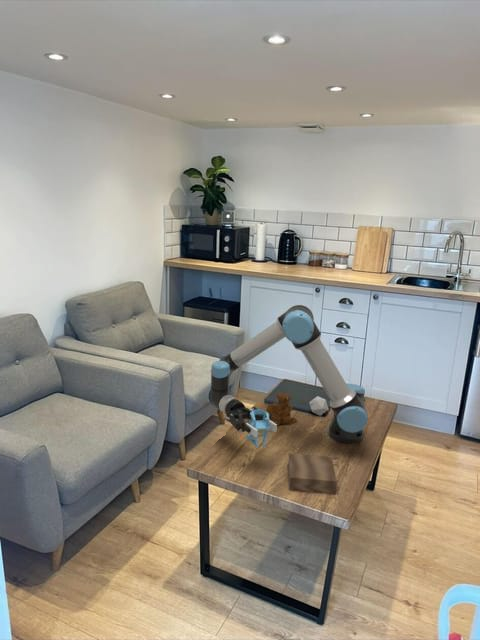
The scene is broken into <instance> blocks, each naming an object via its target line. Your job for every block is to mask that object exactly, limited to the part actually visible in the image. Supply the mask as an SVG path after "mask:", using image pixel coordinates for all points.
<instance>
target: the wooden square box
mask: <svg viewBox="0 0 480 640" xmlns="http://www.w3.org/2000/svg"><path fill="white" fill-rule="evenodd" d="M287 468H288V469H287V471H288V487H289V491H297V492H305V493H307V492H308V493H309V492H310V493H319V494H331V495H333V494H334V495H336V493H337V484H338V480H337V475H336V470H335V467H334V463H333V458H332V456H328V455H327V456H325V455H313V454H312V455H311V454H302V453H299V454H298V453H288V460H287Z"/></svg>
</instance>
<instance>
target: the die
mask: <svg viewBox="0 0 480 640" xmlns="http://www.w3.org/2000/svg"><path fill="white" fill-rule="evenodd" d="M308 404H309V405H310V410H311V412H312V413H313V414H315V415H318V416H320V417H321V416H322V415H324V414H326V413H327V411H329V407H328V402H327V399H325V398H323V397H320V396H319V395H317V396H316V397H314V398H313V399H312V400H311V401H309V403H308ZM323 413H324V414H323Z"/></svg>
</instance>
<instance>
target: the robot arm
mask: <svg viewBox="0 0 480 640" xmlns="http://www.w3.org/2000/svg"><path fill="white" fill-rule="evenodd" d="M321 336H322V333H321V331H320V329H319V328H318V326H317V324H316V322H315V319H314V314H313V312H312V310H311V309H310V308H309V307H307V306H306V305H303V304H298V305H297V304H295V305H293V306H291V307H290V308H288V309H287V310H286V311H284V313H282V314H281V315H280V316H278V317H277V318H276V320H275V322H274V323H272V324H271V325H269V326H268V327H266V328H265V329H263V330H262V331H260V332H259V333H257V334H255V336H253V337H252V338H250V339H249V340H247V341H246V342H244V343H243V344H241V345H240V346H238V347H237V348H235V349H234V350H233V351H231V352H229V353H228V354H224V355H223V356H222V357H221V358H220V359H219V360H217V361H214V362H213V363H212V364H211V370H210V373H211V374H210V375H211V377H210V387H209V388H208V390H207V391H206V393H205V397H206V400H207V402H209V404H211V406H212V407H214V408H216V409H218V410H219V411H221V412H222V413H224V414H225V415H226V417H225V418H226V419H225V420H226V422H229V423H230V424H231V426H233V427H234V429H235V430H237V431H241V432H242V433H244V432H246V433H249V435H253V436H254V437H256V438H258V434H259V430H257V429H255V428H254V427H253V426H251V425H250V424H249V422H245V419H246V420H249V421H251V415H250V413H251V412H252V411H254V410H258V408H257V406H252V408H249V407H246V406H245V404H244V403H243V402H242V401H240V400H239V399H238V398H236V397H235V396H233V395H231V394H230V393H229V392H230V391H229V390H230V378H231V377H232V374H233V373H234V372H235V371H237V370H238V369H239V368H241V367H242V366H244V365H245V364H247V363H248V362H250V361H251V360H253V359H255V358H256V357H258V356H259V355H261V354H262V353H264V352H265V351H266V350H268V349H269V348H271V347H272V346H274V345H276V344H277V343H279V342H280V341H282V340H283V339H285V338H286V339H287V340H288V341H289V342H291V343H292V345H293V347H294V348H295V349H296V350H299V351H301V353H302V354H303V356H304V359H306V361H307V363H308V364H309V366H310V368H311V370H312V371H313V372H314V375H315V376H316V378H317V379H318V382H320V384H321V386H322V388H323V390H324V391H325V393H326V394H327V396H328V398H329V400H330V401H329V407H330V409H331V410H332V412H333V417H332V419H331V421H330V424H329V426H328V428H327V429H328V430H327V434H328V436H329V437H330V438H331V439H333V440H335V441H336V442H340V443H343V444H358V443H361V441H363V440H364V433H365V432H364V428H365V427H366V426H367V423H368V419H369V415H368V413H367V408H366V405H365V394H366V393H365V391H366V389H365V387H363V386H361V385H358V384H354V383H346V381H345V380H344V377H343V375H342V374H341V373H340V370H339V369H338V367H337V365H336V364H335V363H334V360H333V359H332V358H331V356H330V354H329V353H328V351H327V349H326V347H325V346H324V344H323V341H322V340H321ZM295 349H294V350H295ZM263 416H264V415H262V414H256V415H255V421H259V420H263ZM270 417H271V415H269V422H268V425H269V427H270V430H272V431H273V432H275V433H276V432H277V429H278V426H277V424H275V423H274V422H273V421H271V420H270ZM265 421H267V417H266V416H265ZM254 437H253V438H254Z"/></svg>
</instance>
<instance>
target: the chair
mask: <svg viewBox="0 0 480 640" xmlns="http://www.w3.org/2000/svg"><path fill="white" fill-rule="evenodd" d="M257 409H258V408H257ZM256 414H262V415H264V416H263V420H259V421H256V420H255V415H256ZM250 415H251V420H249V421H248V424H250V425H251V426H253V427H254V428H255V429H257V430H258V431H265V432H264V433H258V437H259V438H260V437H262V438H263V440H262V447H263V448H264V447H266V442H267V439H268V434H269V431H270V430H271V429H270V427H269V425H268V422H269V413H267V412H266V410H263V409H260V408H259V409H258V410H254V411H252V412H251V413H250ZM265 416H266V417H267V421H265ZM245 437H246V439H248V441H249V442H251V443H252V444H253V445H254V446H255V447H256V448H259V441H258V439H257V438H258V437H254V436H253V435H252V434H246V436H245Z"/></svg>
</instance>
